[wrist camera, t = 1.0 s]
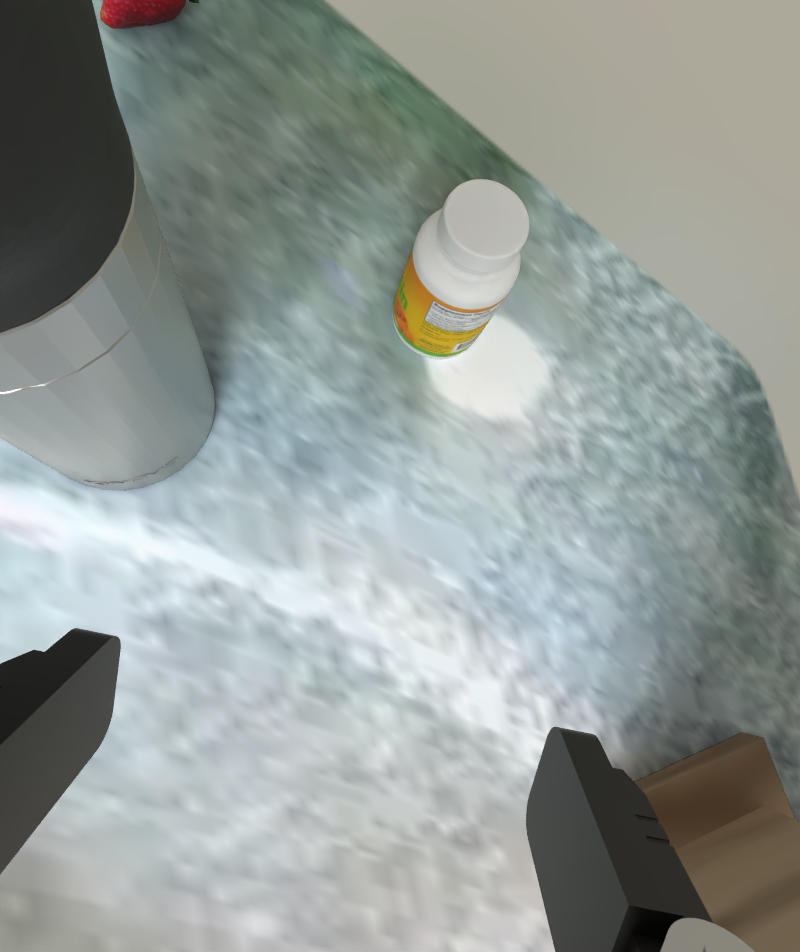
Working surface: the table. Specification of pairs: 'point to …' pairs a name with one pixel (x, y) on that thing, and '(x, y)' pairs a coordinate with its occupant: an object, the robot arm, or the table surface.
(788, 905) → the walnut stand
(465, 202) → the supplement bottle
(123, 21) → the fruit
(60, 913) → the table surface
